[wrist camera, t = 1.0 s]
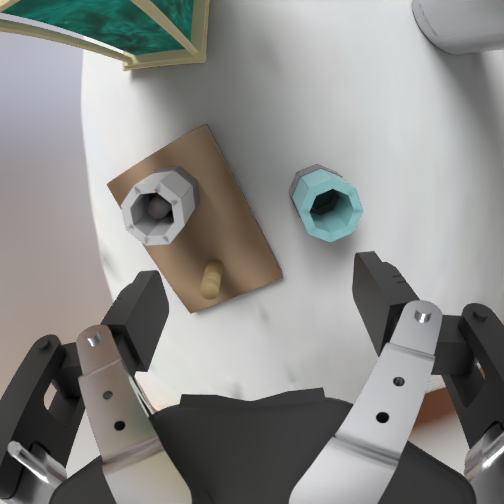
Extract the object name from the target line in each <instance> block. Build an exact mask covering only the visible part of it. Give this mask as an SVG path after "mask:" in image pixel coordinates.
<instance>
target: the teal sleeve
mask: <svg viewBox="0 0 504 504" xmlns="http://www.w3.org/2000/svg"><path fill="white" fill-rule="evenodd" d="M331 189H334V191H335V192H334V194H333V196H332V199H331V201H330V203H329V204H328V205H326V206H323V207H321V208H319V209H314V208H311V207H312V205H313V202H314V200H315V198H316V196H317V195H319V194H322V193H324V192H326V191H329V190H331ZM289 194H290V197H291V199H292V201H293V203H294V205H295V208H296V210H297V212H298V215H299V217H300V218H301V219H302V221H303V223H304V226H305V228H306V230H307V232H308V234H309V235H311V236H314V237H317V238H320V239H322V240H325V241H328V242H333V241H335V240H337V239H340V238H342V237H344V236H347V235H349V234H351V233H352V232H353V231H354V229H355V227H356V225H357V223H358V221H359V219H360V217H361V215H362V213H363V208H362V205H361V202H360V199H359V196H358V193H357V190H356V188H355V187H353V186H352V185H351V184H350V183H348V182H347V181H346V180H344V179H343V178H342V176H341V175H339V174H338V173H337V172H335V171H332V170H330V169H327V168H325V167H323V166H320V165H318V164H316V165H313V166H311V167H308V168H306V169H304V170H301V171H299V172H297V173H296V175H295V178H294V180H293V183H292V185H291V188H290V190H289Z"/></svg>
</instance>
